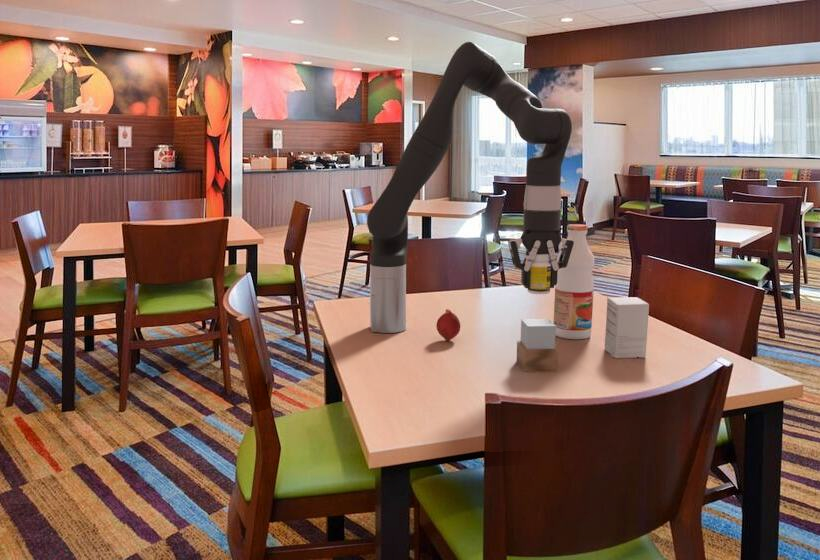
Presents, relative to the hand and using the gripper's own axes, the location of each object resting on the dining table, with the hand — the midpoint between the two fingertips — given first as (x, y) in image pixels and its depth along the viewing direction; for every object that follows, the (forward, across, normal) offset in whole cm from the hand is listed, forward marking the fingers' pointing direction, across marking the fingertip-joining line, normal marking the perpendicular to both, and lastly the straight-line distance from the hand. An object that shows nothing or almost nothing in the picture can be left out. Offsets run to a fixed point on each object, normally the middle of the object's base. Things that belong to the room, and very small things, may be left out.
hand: (539, 287), depth 142 cm
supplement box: (+18, +23, +7) cm, 30 cm away
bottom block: (+18, 0, 0) cm, 18 cm away
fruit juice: (+18, +16, +23) cm, 33 cm away
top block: (+13, 0, 0) cm, 13 cm away
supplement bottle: (+1, 0, 0) cm, 1 cm away
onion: (+18, -16, +21) cm, 32 cm away
